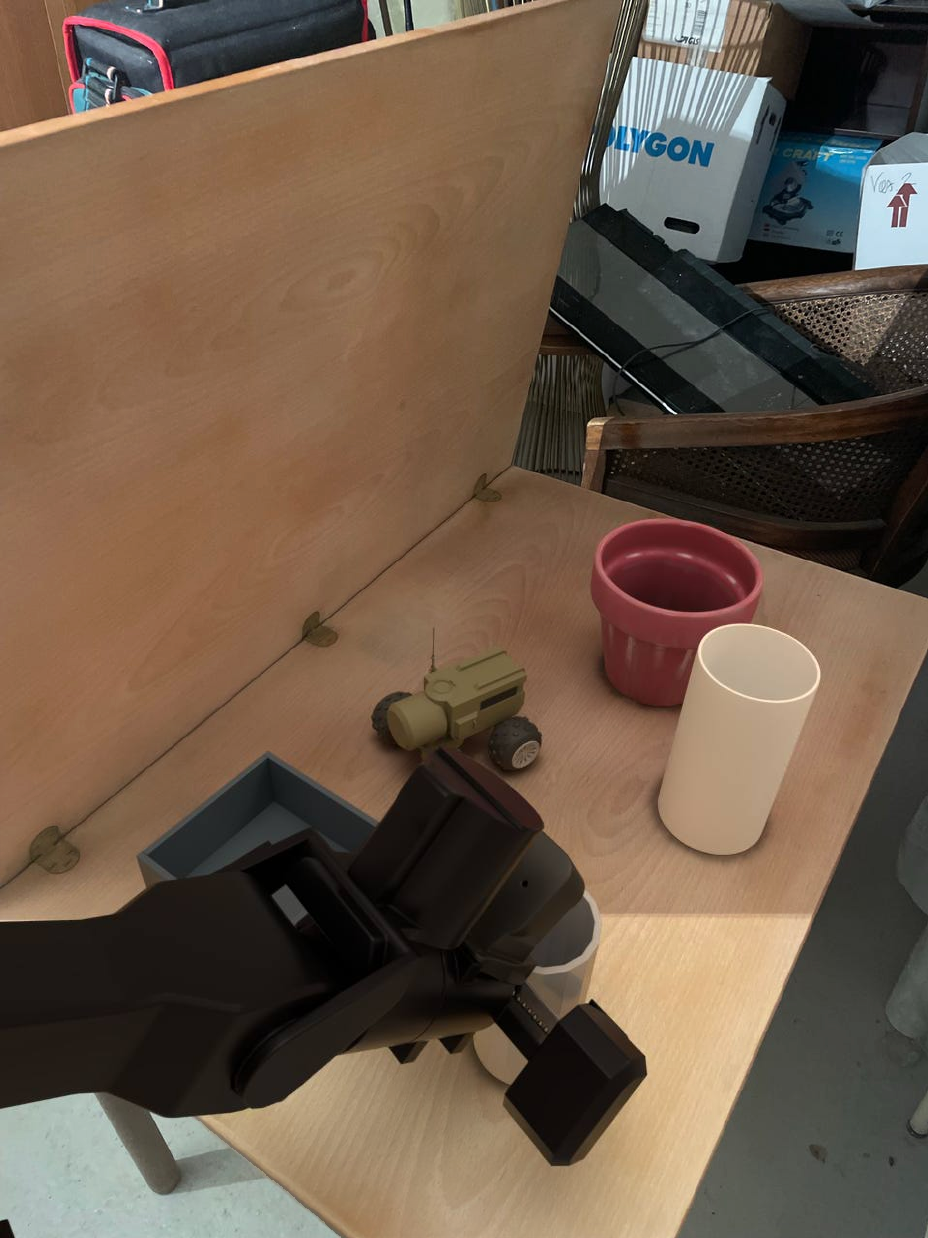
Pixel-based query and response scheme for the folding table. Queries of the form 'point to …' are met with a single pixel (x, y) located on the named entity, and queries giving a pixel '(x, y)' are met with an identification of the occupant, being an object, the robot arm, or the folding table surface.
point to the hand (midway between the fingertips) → (548, 965)
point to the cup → (735, 736)
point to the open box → (255, 825)
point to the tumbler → (550, 982)
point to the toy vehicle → (464, 710)
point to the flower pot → (667, 601)
